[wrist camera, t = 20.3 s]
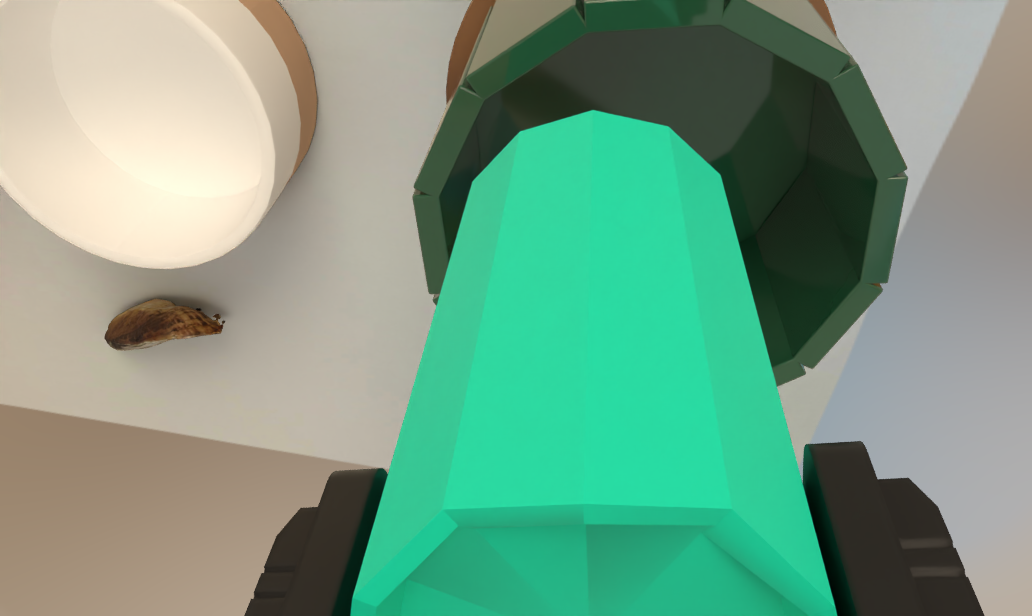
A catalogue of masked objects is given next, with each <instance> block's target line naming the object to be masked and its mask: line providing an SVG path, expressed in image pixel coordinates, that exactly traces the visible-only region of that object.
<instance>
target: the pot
mask: <svg viewBox="0 0 1032 616" xmlns="http://www.w3.org/2000/svg"><path fill="white" fill-rule="evenodd" d="M591 110H596V111H600V112H605V113H609V114H614V115H618V116H623V117H628V118H632V119H637V120H641V121H646V122H651V123H655V124H660V125H664V126H668V127H670V128H671V129H672V130H673V131H674V132H675V133H676V134H677V135H678V136H679V137H680V138H681V139H683V140H684V141H685V142H686V143H687V144H688V145H689V146H690V147H691V148H692V149H693V150H694V151H695V152H697V153H698V154H699V155H700V156H701V157H702V158H703V159H704V160H705V161H706V162H707V163H708V164H709V165H711V166H712V167H713V168H714V169H715V170H716V171H717V172H718V173H719V174H720V175H721V178H722V182H723V186H724V190H725V194H726V197H727V201H728V205H729V209H730V212H731V216H732V220H733V224H734V227H735V231H736V235H737V239H738V242H739V246H740V250H741V254H742V258H743V261H744V265H745V269H746V273H747V276H748V280H749V284H750V288H751V291H752V295H753V299H754V303H755V307H756V310H757V314H758V318H759V322H760V325H761V329H762V333H763V337H764V340H765V344H766V348H767V352H768V355H769V359H770V363H771V367H772V371H773V374H774V378H775V382H776V386H780V385H782V384H785V383H787V382H789V381H792V380H794V379H796V378H799V377H801V376H803V375H805V374H806V372H805V369H804V366H806V367H809V368H811V369H813V368H814V367H815V366H816V365H817V364H818V363H819V362H820V361H821V359H822V358H823V357H824V356H825V355H826V354H827V353H828V352H829V350H830V349H831V348H832V347H833V346H834V345H835V344H836V343H837V342H838V340H839V339H840V338H841V337H842V336H843V335H844V334H845V333H846V332H847V330H848V329H849V328H850V327H851V326H852V325H853V324H854V323H855V322H856V320H857V319H858V318H859V317H860V316H861V315H862V314H863V313H864V312H865V310H866V309H867V308H868V307H869V306H870V305H871V304H872V303H873V302H874V300H875V299H876V298H877V297H878V296H879V295H880V294H881V292H882V290H883V289H882V287H881V285H880V283H887V282H888V278H889V273H890V268H891V263H892V258H893V253H894V248H895V243H896V237H897V232H898V227H899V222H900V217H901V212H902V207H903V202H904V197H905V191H906V186H907V181H908V177H907V175H906V174H905V172H904V171H905V170H906V169H907V166H906V164H905V162H904V160H903V158H902V155H901V153H900V151H899V149H898V147H897V145H896V143H895V141H894V139H893V137H892V134H891V132H890V130H889V128H888V126H887V124H886V122H885V120H884V118H883V116H882V113H881V111H880V109H879V107H878V105H877V103H876V101H875V99H874V97H873V95H872V92H871V90H870V88H869V86H868V84H867V82H866V80H865V78H864V76H863V74H862V71H861V69H860V67H859V65H858V64H857V62H856V61H855V60H854V59H853V57H852V56H851V55H850V53H849V52H848V51H847V50H846V48H845V47H844V46H843V44H842V43H841V42H840V40H839V39H838V38H837V37H836V35H835V34H834V33H833V31H832V30H831V29H830V28H829V26H828V25H827V24H826V22H825V21H824V20H823V19H822V17H821V16H820V15H819V13H818V12H817V11H816V10H815V8H814V7H813V6H812V4H811V3H810V2H809V0H496V1H495V4H494V7H493V6H491V7H490V8H489V10H488V12H487V15H486V17H485V19H484V21H483V24H482V26H481V28H480V30H479V33H478V35H477V37H476V39H475V41H474V43H473V46H472V48H471V51H470V53H469V55H468V57H467V60H466V62H465V64H464V66H463V69H462V71H461V73H460V75H459V78H458V80H457V82H456V84H455V87H454V89H453V91H452V94H451V96H450V99H449V101H448V103H447V106H446V108H445V111H444V113H443V116H442V118H441V121H440V123H439V125H438V128H437V130H436V133H435V135H434V138H433V140H432V142H431V145H430V147H429V150H428V152H427V155H426V157H425V159H424V162H423V164H422V167H421V169H420V172H419V174H418V176H417V179H416V181H415V184H414V188H415V192H414V194H413V197H412V198H413V204H414V210H415V216H416V222H417V228H418V233H419V239H420V245H421V251H422V257H423V263H424V269H425V275H426V281H427V287H428V292H429V294H434V297H433V302H434V303H435V305H436V306H437V303H438V299H439V296H440V292H441V289H442V285H443V282H444V278H445V275H446V271H447V268H448V264H449V261H450V257H451V254H452V251H453V247H454V244H455V240H456V237H457V233H458V230H459V226H460V223H461V219H462V216H463V212H464V209H465V205H466V202H467V199H468V195H469V192H470V188H471V185H472V181H473V180H474V179H475V178H476V177H477V176H478V175H479V174H480V173H481V172H482V171H483V170H484V169H485V168H486V167H487V166H488V165H489V164H490V162H491V161H492V160H493V159H494V158H495V157H496V156H497V155H498V154H499V153H500V152H501V151H502V150H503V149H504V148H505V147H506V146H507V145H508V144H509V142H510V141H511V140H512V139H513V138H514V137H515V136H516V135H517V134H518V133H519V132H520V131H523V130H526V129H530V128H533V127H537V126H540V125H544V124H547V123H550V122H554V121H557V120H561V119H564V118H567V117H571V116H574V115H578V114H581V113H584V112H588V111H591ZM803 365H804V366H803Z"/></svg>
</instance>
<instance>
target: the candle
mask: <svg viewBox="0 0 1032 616" xmlns="http://www.w3.org/2000/svg"><path fill="white" fill-rule="evenodd" d="M350 616H837V612H836V608H835V604H834V600H833V596H832V593H831V589H830V585H829V581H828V578H827V574H826V570H825V566H824V563H823V559H822V555H821V551H820V548H819V544H818V540H817V536H816V532H815V529H814V525H813V521H812V517H811V514H810V510H809V506H808V502H807V499H806V495H805V491H804V487H803V484H802V480H801V476H800V473H799V468H798V465H797V461H796V457H795V453H794V450H793V446H792V442H791V438H790V435H789V431H788V427H787V423H786V419H785V416H784V412H783V408H782V404H781V401H780V397H779V393H778V389H777V386H776V382H775V378H774V374H773V371H772V367H771V363H770V359H769V355H768V352H767V348H766V344H765V340H764V337H763V333H762V329H761V325H760V322H759V318H758V314H757V310H756V307H755V303H754V299H753V295H752V291H751V288H750V284H749V280H748V276H747V273H746V269H745V265H744V261H743V258H742V254H741V250H740V246H739V242H738V239H737V235H736V231H735V227H734V224H733V220H732V216H731V212H730V209H729V205H728V201H727V197H726V194H725V190H724V186H723V182H722V178H721V175H720V174H719V173H718V172H717V171H716V170H715V169H714V168H713V167H712V166H711V165H709V164H708V163H707V162H706V161H705V160H704V159H703V158H702V157H701V156H700V155H699V154H698V153H697V152H695V151H694V150H693V149H692V148H691V147H690V146H689V145H688V144H687V143H686V142H685V141H684V140H683V139H681V138H680V137H679V136H678V135H677V134H676V133H675V132H674V131H673V130H672V129H671V128H670V127H668V126H664V125H660V124H655V123H651V122H646V121H641V120H637V119H632V118H628V117H623V116H618V115H614V114H609V113H605V112H600V111H596V110H591V111H588V112H584V113H581V114H578V115H574V116H571V117H567V118H564V119H561V120H557V121H554V122H550V123H547V124H544V125H540V126H537V127H533V128H530V129H526V130H523V131H520V132H519V133H518V134H517V135H516V136H515V137H514V138H513V139H512V140H511V141H510V142H509V144H508V145H507V146H506V147H505V148H504V149H503V150H502V151H501V152H500V153H499V154H498V155H497V156H496V157H495V158H494V159H493V160H492V161H491V162H490V164H489V165H488V166H487V167H486V168H485V169H484V170H483V171H482V172H481V173H480V174H479V175H478V176H477V177H476V178H475V179H474V180H473V181H472V185H471V188H470V192H469V195H468V199H467V202H466V205H465V209H464V212H463V216H462V219H461V223H460V226H459V230H458V233H457V237H456V240H455V244H454V247H453V251H452V254H451V257H450V261H449V264H448V268H447V271H446V275H445V278H444V282H443V285H442V289H441V292H440V296H439V299H438V303H437V306H436V310H435V313H434V316H433V320H432V323H431V327H430V330H429V334H428V337H427V341H426V344H425V348H424V351H423V355H422V358H421V362H420V365H419V368H418V372H417V375H416V379H415V382H414V386H413V389H412V393H411V396H410V400H409V403H408V407H407V410H406V414H405V417H404V420H403V424H402V427H401V431H400V434H399V438H398V441H397V445H396V448H395V452H394V455H393V459H392V462H391V466H390V469H389V473H388V476H387V479H386V483H385V486H384V490H383V493H382V497H381V500H380V504H379V507H378V511H377V514H376V518H375V521H374V525H373V528H372V531H371V535H370V538H369V542H368V545H367V549H366V552H365V556H364V559H363V563H362V566H361V570H360V573H359V577H358V580H357V584H356V587H355V590H354V594H353V597H352V605H351V614H350Z"/></svg>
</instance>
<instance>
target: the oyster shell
mask: <svg viewBox="0 0 1032 616" xmlns="http://www.w3.org/2000/svg"><path fill="white" fill-rule="evenodd" d="M213 317H214V318H216V320H212V319H211V318H209V317H208V316H207V315H205V314H204V313H203V312H201V309H200V308H197V309H196V310H195V309H192V308H189V307H186V306H175V305H174V304H173V303H172V302H170V301H166V300H162V299H153V300H150V301H147V302H145V303H142V304H139V305H137V306H134V307H132V308H130V309H128V310H127V311H125V312H123V313H121V314H119V315H117V316H116V317H115V318H114V319H113V320H112V321H111V323H110V324H109V326H108V330H107V332H106V334H105V340H106V341H107V343H108V344H109V345H110V347H112V348H114V349H116V350H124V351H126V350H132V349H144V348H149V347H152V346H155V345H158V344H161V343H163V342H166V341H168V340H172V339H187V338H192V337H198V336H204V335H212V334H221V332H222V329H223V324H224V323H225V321H222V325H220V323H219V322H218V319H220V318H221V316H220V315H219V314H215V315H214V316H213Z"/></svg>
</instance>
